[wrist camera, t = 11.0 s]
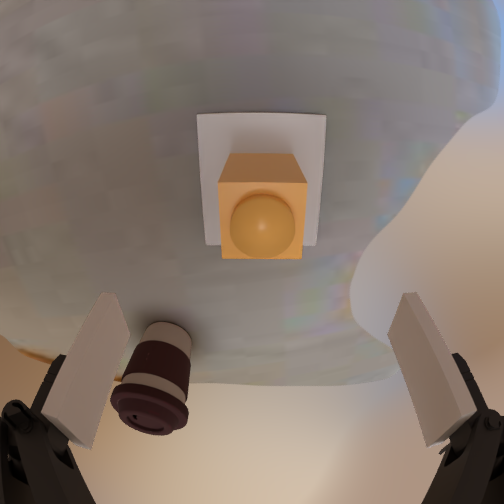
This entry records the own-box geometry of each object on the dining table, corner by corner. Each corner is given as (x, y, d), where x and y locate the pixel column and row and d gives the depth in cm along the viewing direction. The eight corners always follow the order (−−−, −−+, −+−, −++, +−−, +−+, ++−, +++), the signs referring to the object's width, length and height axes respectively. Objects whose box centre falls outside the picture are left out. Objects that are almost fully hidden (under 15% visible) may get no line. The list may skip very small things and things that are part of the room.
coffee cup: (214, 344, 42) (202, 435, 30) (171, 364, 46) (152, 443, 33) (166, 303, 38) (135, 397, 26) (125, 329, 42) (93, 410, 29)
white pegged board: (207, 240, 33) (196, 277, 27) (198, 113, 26) (180, 122, 20) (314, 241, 33) (325, 278, 27) (324, 114, 26) (343, 123, 20)
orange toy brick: (231, 210, 30) (220, 267, 22) (229, 153, 27) (215, 188, 18) (290, 211, 30) (303, 268, 21) (293, 153, 27) (310, 189, 18)
